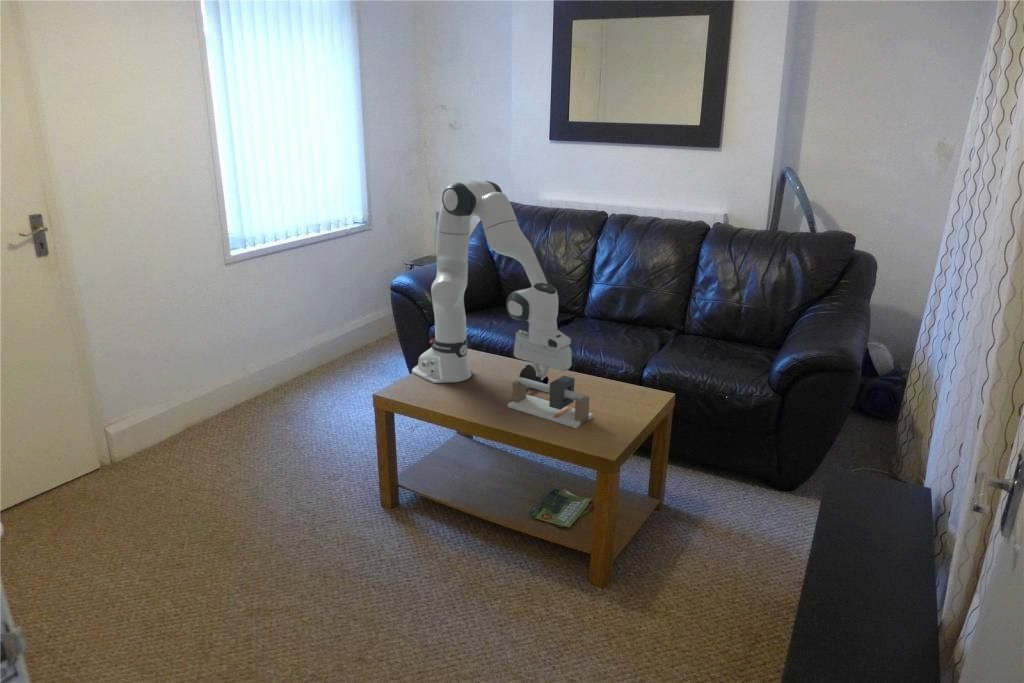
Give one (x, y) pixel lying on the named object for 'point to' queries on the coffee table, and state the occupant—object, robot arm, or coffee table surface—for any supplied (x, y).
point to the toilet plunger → (532, 375)
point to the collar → (560, 392)
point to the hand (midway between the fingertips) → (541, 376)
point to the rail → (541, 406)
